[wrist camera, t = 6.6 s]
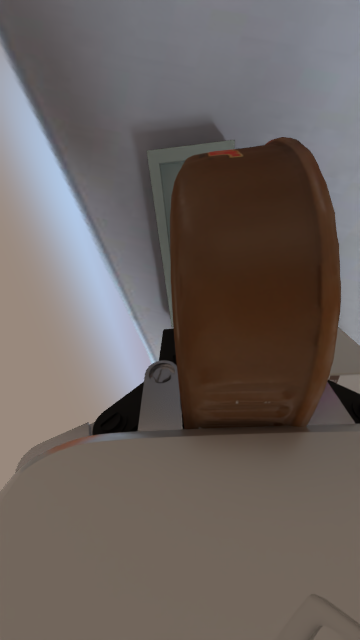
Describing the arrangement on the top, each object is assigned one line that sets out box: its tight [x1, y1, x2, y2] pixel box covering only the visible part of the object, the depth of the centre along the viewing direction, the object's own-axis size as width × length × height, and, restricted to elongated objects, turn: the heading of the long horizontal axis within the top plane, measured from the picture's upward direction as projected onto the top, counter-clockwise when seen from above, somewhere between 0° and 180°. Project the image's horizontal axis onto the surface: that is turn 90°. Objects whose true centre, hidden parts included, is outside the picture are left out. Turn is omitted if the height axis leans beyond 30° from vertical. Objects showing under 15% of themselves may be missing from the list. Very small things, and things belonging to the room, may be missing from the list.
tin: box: [170, 137, 341, 429], centre depth 9 cm, size 15×3×8 cm, turn 5°
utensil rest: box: [147, 140, 235, 327], centre depth 24 cm, size 20×8×2 cm, turn 5°
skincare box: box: [328, 327, 360, 394], centre depth 25 cm, size 8×6×15 cm
